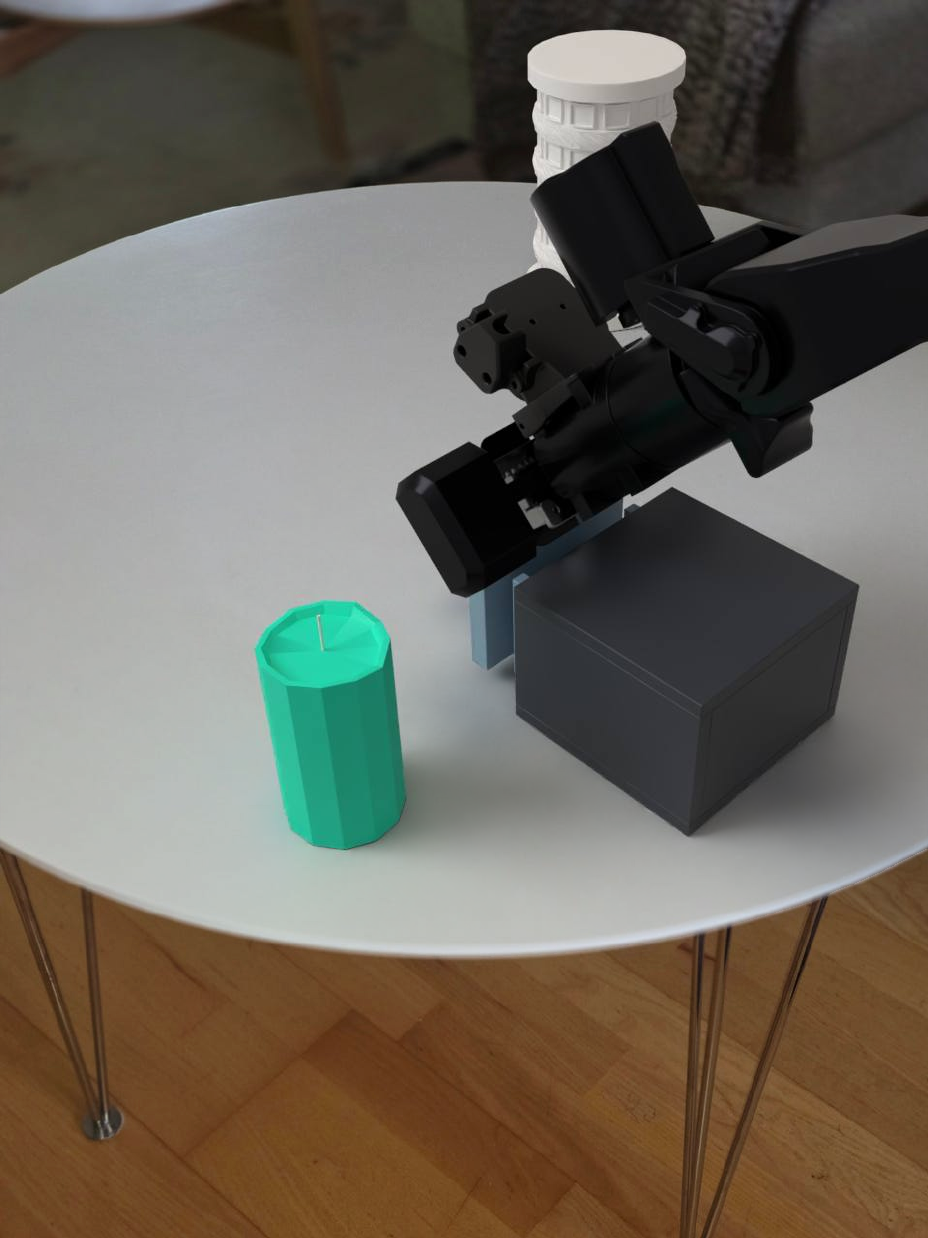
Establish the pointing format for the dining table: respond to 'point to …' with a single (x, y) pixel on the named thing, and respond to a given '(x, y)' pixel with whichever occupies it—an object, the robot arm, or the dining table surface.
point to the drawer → (497, 600)
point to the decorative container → (596, 103)
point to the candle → (333, 722)
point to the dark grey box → (681, 654)
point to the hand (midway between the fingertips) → (493, 505)
